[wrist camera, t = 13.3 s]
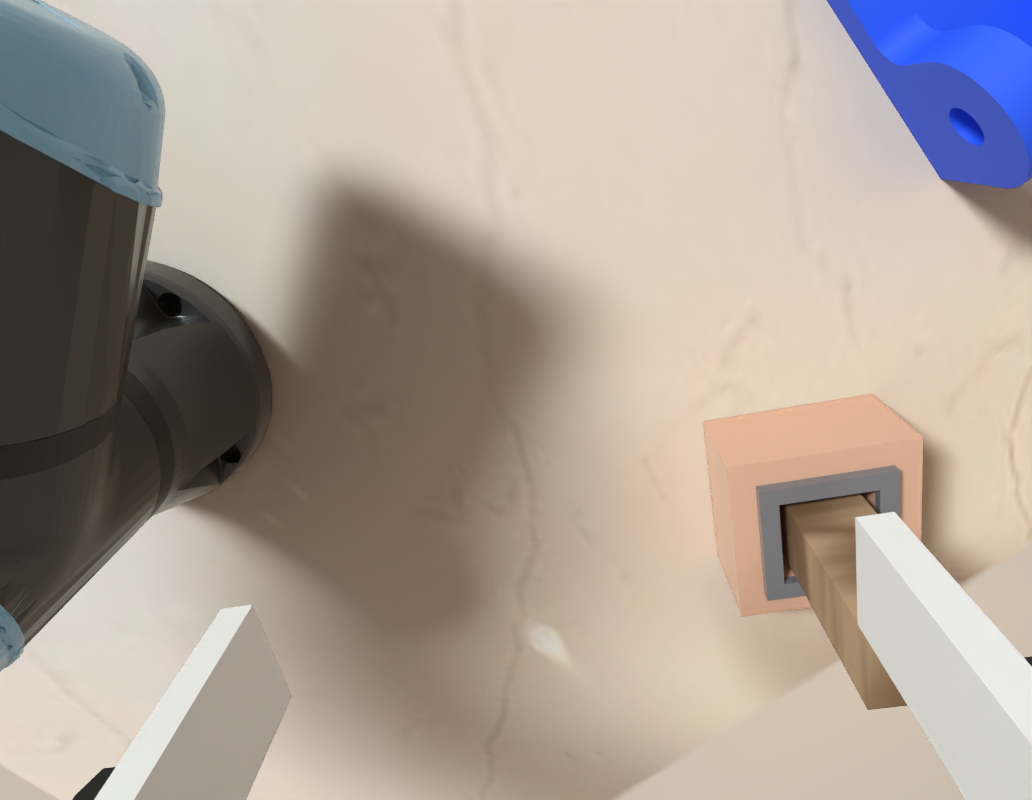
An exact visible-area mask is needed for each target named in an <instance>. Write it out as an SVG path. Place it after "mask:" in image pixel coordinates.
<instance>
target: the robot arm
mask: <svg viewBox="0 0 1032 800" xmlns="http://www.w3.org/2000/svg"><path fill="white" fill-rule="evenodd" d="M164 121H165V103H164V97H163V94H162V91H161V88H160V85H159V83H158V81H157V79H156V77H155V76H154V74H153V73H152V71H151V70H150V68H149V67H148V66H147V64H146V63H145V62H144V61H143V60H142V59H141V58H140V57H139V56H138V55H137V54H135V53H134V52H133V51H132V50H130V49H129V48H128V47H127V46H125V45H124V44H122V43H121V42H119V41H117V40H116V39H114V38H112V37H111V36H109V35H107V34H105V33H103V32H102V31H100V30H98V29H96V28H94V27H92V26H90V25H88V24H87V23H85V22H83V21H81V20H79V19H77V18H75V17H73V16H71V15H69V14H67V13H65V12H63V11H61V10H59V9H57V8H55V7H53V6H51V5H49V4H47V3H45V2H43V1H41V0H0V671H1V670H3V669H4V668H6V667H8V666H9V665H10V664H12V663H13V662H14V661H15V660H16V659H18V658H19V657H20V655H21V654H22V653H23V648H24V647H25V646H26V644H27V643H28V642H29V641H30V640H31V639H32V638H33V637H34V636H35V635H36V634H37V633H38V632H39V631H40V630H41V629H42V628H43V627H44V626H45V625H46V624H47V623H48V622H49V621H50V620H51V619H52V618H53V617H54V616H55V615H56V614H57V613H58V612H59V611H60V610H61V609H62V608H63V607H64V606H65V605H66V604H67V603H68V602H69V600H70V599H71V598H72V597H73V596H74V595H75V594H76V593H77V592H78V591H79V590H80V589H81V588H82V587H83V586H84V585H85V584H86V583H87V582H88V581H89V580H90V579H91V578H92V577H93V576H94V575H95V574H96V573H97V572H98V571H99V570H100V569H101V568H102V567H103V566H104V565H105V564H106V563H107V562H108V561H109V560H110V559H111V558H112V556H113V555H114V554H115V553H116V552H117V551H118V550H119V549H120V548H121V547H122V546H123V545H124V544H125V543H126V542H127V541H128V540H129V539H130V538H131V537H132V536H133V535H134V534H135V533H136V532H137V531H138V530H139V529H140V528H141V527H142V526H143V525H144V523H145V522H146V521H148V520H149V519H150V518H151V517H152V516H153V515H155V514H158V513H160V512H163V511H165V510H168V509H170V508H173V507H175V506H178V505H180V504H183V503H185V502H188V501H191V500H193V499H196V498H198V497H201V496H203V495H205V494H207V493H209V492H211V491H213V490H215V489H216V488H218V487H219V486H221V485H222V484H224V483H225V482H227V481H228V480H229V479H230V478H231V477H232V476H233V475H235V474H236V473H237V472H238V470H239V469H240V468H241V467H242V466H243V465H244V464H245V463H246V461H247V460H248V459H249V458H250V457H251V456H252V454H253V453H254V452H255V451H256V449H257V448H258V446H259V444H260V443H261V441H262V439H263V437H264V435H265V432H266V429H267V427H268V423H269V419H270V414H271V405H272V391H271V382H270V376H269V372H268V368H267V365H266V361H265V359H264V356H263V353H262V351H261V349H260V347H259V345H258V343H257V341H256V339H255V337H254V335H253V334H252V332H251V331H250V329H249V328H248V326H247V325H246V323H245V322H244V321H243V319H242V318H241V317H240V316H239V315H238V313H237V312H236V311H235V310H234V309H233V308H232V307H231V306H230V305H229V304H228V303H227V302H226V301H225V300H224V299H223V298H222V297H221V296H219V295H218V294H217V293H216V292H214V291H213V290H212V289H211V288H209V287H208V286H206V285H205V284H203V283H202V282H200V281H198V280H197V279H195V278H193V277H191V276H190V275H188V274H186V273H184V272H181V271H179V270H177V269H174V268H172V267H169V266H166V265H163V264H159V263H156V262H151V261H147V255H148V250H149V244H150V238H151V233H152V227H153V221H154V216H155V210H156V207H160V206H161V204H162V191H161V190H160V189H159V187H158V178H159V167H160V158H161V148H162V139H163V130H164ZM855 532H856V578H857V624H858V626H859V627H860V629H861V631H862V632H863V634H864V636H865V637H866V639H867V640H868V642H869V644H870V645H871V647H872V649H873V650H874V652H875V653H876V655H877V657H878V658H879V660H880V662H881V663H882V665H883V666H884V668H885V670H886V671H887V673H888V675H889V676H890V678H891V679H892V681H893V683H894V684H895V686H896V688H897V689H898V691H899V692H900V694H901V696H902V697H903V699H904V701H905V702H906V704H907V705H908V707H909V709H910V710H911V712H912V714H913V715H914V717H915V718H916V720H917V721H918V723H919V725H920V727H921V728H922V729H923V731H924V733H925V735H926V736H927V738H928V740H929V741H930V743H931V744H932V746H933V748H934V749H935V751H936V752H937V754H938V756H939V757H940V759H941V761H942V762H943V764H944V766H945V767H946V769H947V770H948V772H949V774H950V775H951V777H952V778H953V780H954V782H955V783H956V785H957V787H958V788H959V790H960V791H961V793H962V795H963V796H964V798H965V800H1032V657H1025V658H1024V657H1023V656H1022V655H1021V654H1020V653H1019V652H1018V651H1017V649H1016V648H1015V647H1014V646H1013V645H1012V644H1011V643H1010V642H1009V640H1008V639H1007V638H1006V637H1005V636H1004V635H1003V634H1002V633H1001V631H1000V630H999V629H998V628H997V627H996V626H995V625H994V624H993V623H992V621H991V620H990V619H989V618H988V617H987V616H986V615H985V613H983V611H982V610H981V609H980V608H979V607H978V605H977V604H976V603H975V602H974V601H973V600H972V599H971V598H970V596H969V595H968V594H967V593H966V592H965V591H964V590H963V589H962V587H961V586H960V585H959V584H958V583H957V582H956V581H955V580H954V578H953V577H952V576H951V575H950V574H949V573H948V572H947V570H946V569H945V568H944V567H943V566H942V565H941V564H940V563H939V561H938V560H937V559H936V558H935V557H934V556H933V555H932V554H931V552H930V551H929V550H928V549H927V548H926V547H925V546H924V545H923V543H922V542H921V541H920V540H919V539H918V538H917V537H916V536H915V534H914V533H913V532H912V531H911V530H910V529H909V528H908V526H907V525H906V524H905V523H904V522H903V521H902V520H901V519H900V517H899V516H898V515H897V514H896V513H895V512H889V513H882V514H875V515H868V516H861V517H855ZM291 697H292V696H291V693H290V691H289V689H288V686H287V684H286V682H285V679H284V677H283V675H282V672H281V670H280V668H279V665H278V663H277V660H276V658H275V656H274V653H273V651H272V649H271V646H270V644H269V642H268V639H267V637H266V635H265V632H264V630H263V628H262V625H261V623H260V620H259V618H258V616H257V613H256V611H255V609H254V606H253V604H252V605H245V606H238V607H231V608H224V609H221V610H220V611H219V613H218V614H217V616H216V617H215V619H214V620H213V622H212V623H211V625H210V626H209V628H208V629H207V631H206V632H205V634H204V635H203V637H202V638H201V640H200V641H199V643H198V644H197V646H196V647H195V649H194V650H193V652H192V653H191V655H190V656H189V658H188V659H187V661H186V662H185V664H184V665H183V667H182V668H181V670H180V671H179V673H178V674H177V676H176V677H175V679H174V680H173V682H172V683H171V685H170V686H169V688H168V689H167V691H166V692H165V694H164V695H163V697H162V698H161V700H160V701H159V703H158V704H157V706H156V707H155V709H154V710H153V712H152V713H151V715H150V716H149V718H148V719H147V721H146V722H145V724H144V725H143V727H142V728H141V730H140V731H139V733H138V734H137V736H136V737H135V739H134V740H133V742H132V743H131V745H130V746H129V748H128V749H127V751H126V753H125V754H124V756H123V757H122V759H121V760H120V762H119V763H118V765H117V766H116V767H112V768H104V769H102V770H101V771H100V772H99V773H98V774H97V775H96V776H95V777H94V778H93V779H92V780H91V781H90V782H89V783H88V784H87V785H86V786H85V787H83V788H82V789H81V790H80V791H79V792H78V793H77V794H76V795H75V797H74V798H73V800H246V798H247V796H248V794H249V792H250V789H251V787H252V785H253V783H254V780H255V778H256V776H257V773H258V771H259V769H260V767H261V764H262V762H263V760H264V758H265V755H266V753H267V751H268V749H269V746H270V744H271V742H272V740H273V737H274V735H275V733H276V731H277V728H278V726H279V724H280V722H281V719H282V717H283V715H284V713H285V710H286V708H287V706H288V703H289V701H290V699H291Z"/></svg>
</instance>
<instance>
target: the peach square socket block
mask: <svg viewBox="0 0 1032 800" xmlns="http://www.w3.org/2000/svg"><path fill="white" fill-rule="evenodd" d="M703 426H704V435H705V444H706V453H707V462H708V471H709V480H710V489H711V498H712V507H713V516H714V525H715V534H716V543H717V552H718V557H719V560H720V563H721V565H722V568H723V570H724V573H725V575H726V578H727V580H728V583H729V586H730V588H731V591H732V593H733V596H734V598H735V601H736V603H737V606H738V608H739V611H740V614H741V616H742V617H743V616H750V615H758V614H766V613H773V612H781V611H789V610H796V609H804V608H812V606H811V604H810V603H809V601H808V599H807V597H806V595H805V593H804V592H803V590H802V588H801V586H800V584H799V582H798V580H797V579H796V577H795V575H794V573H793V571H792V569H791V568H790V566H789V564H788V562H787V560H786V558H785V557H784V555H783V553H782V540H781V526H780V511H779V505H784V504H791V503H797V502H804V501H811V500H818V499H824V498H831V497H838V496H845V495H851V494H858V493H860V494H861V495H862V496H863V497H864V499H865V500H866V501H867V502H868V503H869V505H870V506H871V507H872V508H873V509H874V511H875V512H876V513H877V514H882V513H889V512H895V513H896V514H897V515H898V516H899V517H900V519H901V520H902V521H903V522H904V523H905V524H906V525H907V526H908V528H909V529H910V530H911V531H912V532H913V533H914V534H915V536H916V537H917V538H918V539H919V540H920V541H921V522H922V472H923V437H922V436H921V435H920V434H919V433H918V432H916V431H915V430H914V429H913V428H912V427H911V426H909V425H908V424H907V423H906V422H905V421H903V420H902V419H901V418H900V417H899V416H898V415H896V414H895V413H894V412H893V411H892V410H890V409H889V408H888V407H887V406H886V405H884V404H883V403H882V402H881V401H880V400H879V399H877V398H876V397H875V396H874V395H873V394H869V395H863V396H857V397H851V398H845V399H839V400H833V401H826V402H820V403H814V404H808V405H802V406H796V407H790V408H784V409H778V410H772V411H765V412H759V413H753V414H747V415H741V416H735V417H729V418H723V419H717V420H711V421H704V422H703Z"/></svg>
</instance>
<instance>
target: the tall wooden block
mask: <svg viewBox="0 0 1032 800" xmlns="http://www.w3.org/2000/svg"><path fill="white" fill-rule="evenodd" d="M779 511H780V526H781V540H782V553H783V555H784V557H785V558H786V560H787V562H788V564H789V566H790V568H791V569H792V571H793V573H794V575H795V577H796V579H797V580H798V582H799V584H800V586H801V588H802V590H803V592H804V593H805V595H806V597H807V599H808V601H809V603H810V604H811V606H812V608H813V610H814V612H815V614H816V615H817V617H818V619H819V621H820V623H821V625H822V626H823V628H824V630H825V632H826V634H827V636H828V637H829V639H830V641H831V643H832V645H833V647H834V649H835V650H836V652H837V654H838V656H839V658H840V660H841V661H842V663H843V665H844V667H845V668H846V671H847V672H848V674H849V676H850V678H851V680H852V682H853V683H854V685H855V687H856V689H857V691H858V693H859V694H860V696H861V698H862V700H863V702H864V703H865V705H866V707H867V709H868V710H870V709H879V708H888V707H897V706H906V705H907V704H906V702H905V701H904V699H903V697H902V696H901V694H900V692H899V691H898V689H897V688H896V686H895V684H894V683H893V681H892V679H891V678H890V676H889V675H888V673H887V671H886V670H885V668H884V666H883V665H882V663H881V662H880V660H879V658H878V657H877V655H876V653H875V652H874V650H873V649H872V647H871V645H870V644H869V642H868V640H867V639H866V637H865V636H864V634H863V632H862V631H861V629H860V627H859V626H858V624H857V578H856V532H855V517H861V516H868V515H875V514H877V513H876V512H875V511H874V509H873V508H872V507H871V506H870V505H869V503H868V502H867V501H866V500H865V499H864V497H863V496H862V495H861V494H860V493H858V494H851V495H845V496H838V497H831V498H824V499H818V500H811V501H804V502H797V503H791V504H784V505H779Z"/></svg>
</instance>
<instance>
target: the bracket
mask: <svg viewBox="0 0 1032 800" xmlns="http://www.w3.org/2000/svg"><path fill="white" fill-rule="evenodd" d="M827 2H828V3H829V5H830V6H831V8H832V9H833V11H834V12H835V14H836V16H837V17H838V19H839V20H840V22H841V23H842V25H843V27H844V28H845V30H846V31H847V33H848V34H849V36H850V38H851V39H852V41H853V42H854V44H855V45H856V47H857V48H858V50H859V52H860V53H861V55H862V56H863V58H864V59H865V61H866V63H867V64H868V66H869V67H870V69H871V70H872V72H873V74H874V75H875V77H876V78H877V80H878V81H879V83H880V84H881V86H882V88H883V89H884V91H885V92H886V94H887V95H888V97H889V99H890V100H891V102H892V103H893V105H894V106H895V108H896V110H897V111H898V113H899V114H900V116H901V117H902V119H903V121H904V122H905V124H906V125H907V127H908V128H909V130H910V131H911V133H912V135H913V136H914V138H915V139H916V141H917V142H918V144H919V146H920V147H921V149H922V150H923V152H924V153H925V155H926V157H927V158H928V160H929V161H930V163H931V164H932V166H933V167H934V169H935V171H936V172H937V174H938V175H939V177H940V178H941V179H945V180H952V181H959V182H966V183H972V184H979V185H986V186H993V187H1000V188H1016V187H1019V186H1021V185H1022V184H1024V183H1025V182H1026V181H1028V180H1029V179H1031V178H1032V0H827Z"/></svg>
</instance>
